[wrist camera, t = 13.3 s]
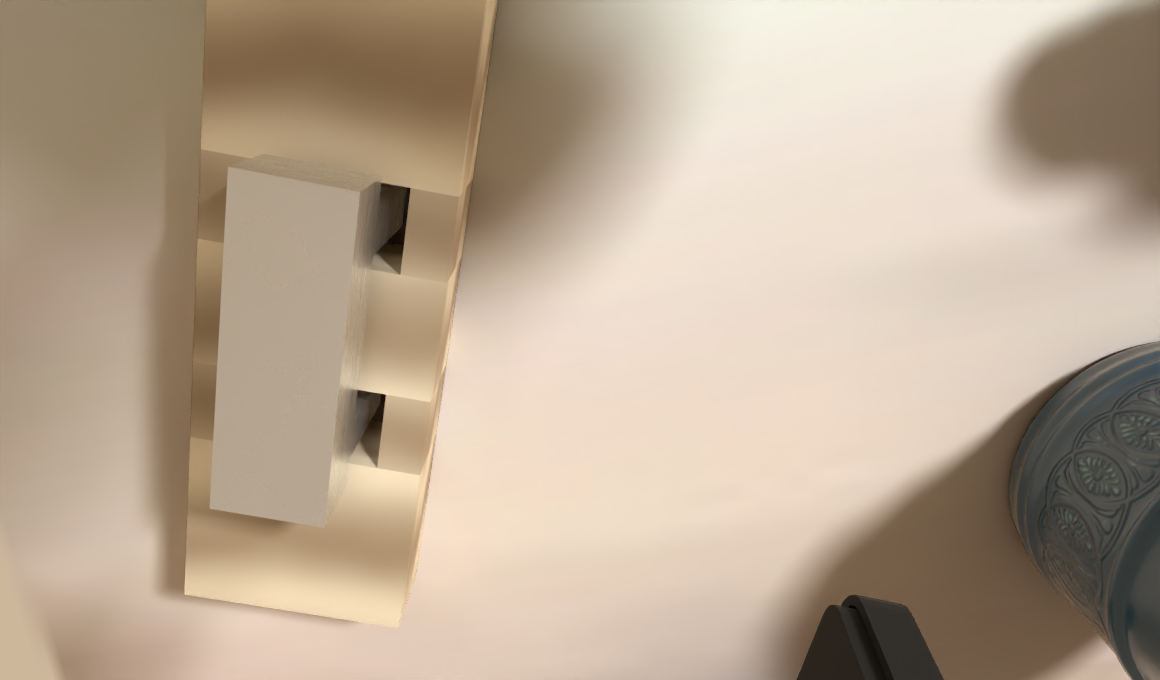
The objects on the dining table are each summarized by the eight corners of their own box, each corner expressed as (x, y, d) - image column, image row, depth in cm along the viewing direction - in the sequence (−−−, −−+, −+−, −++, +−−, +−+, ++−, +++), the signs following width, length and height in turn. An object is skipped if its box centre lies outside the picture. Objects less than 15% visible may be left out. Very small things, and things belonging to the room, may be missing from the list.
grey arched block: (308, 136, 33) (227, 167, 26) (410, 156, 34) (359, 191, 26) (285, 413, 37) (209, 508, 30) (376, 428, 38) (324, 527, 30)
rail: (254, -70, 31) (209, -85, 27) (501, -21, 31) (489, -28, 28) (222, 540, 40) (184, 594, 36) (416, 572, 40) (399, 628, 36)
